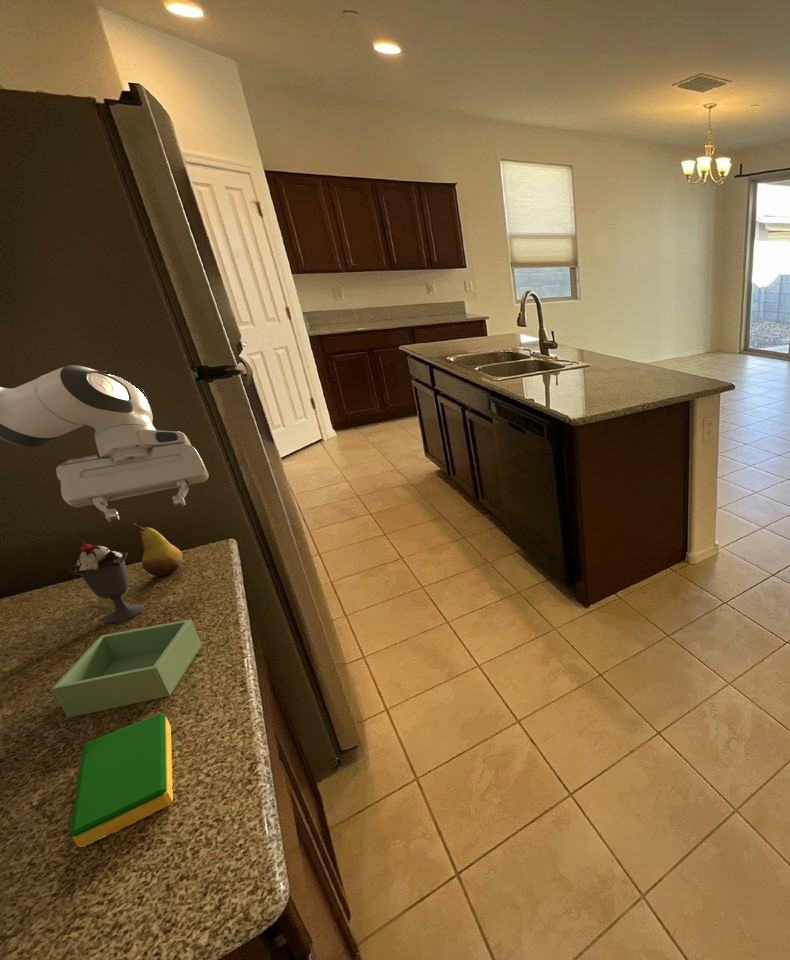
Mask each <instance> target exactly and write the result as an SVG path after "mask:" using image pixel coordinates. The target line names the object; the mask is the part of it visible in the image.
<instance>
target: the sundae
mask: <svg viewBox="0 0 790 960" xmlns="http://www.w3.org/2000/svg"><path fill="white" fill-rule="evenodd" d="M70 536H71V538H74V539H76V540H77V539H78V540H80V541H81V542H82V544H83V545H81V547H79V551H80V554H79V556H78V557H77V561H76V563H75V564H73V565H72V566H70V567H69V568H68V571H69V572H70V573H72V575H74V576H80V578H82V580H83V581H84V582H85V583H86V585H87V586H88V587H89V589H90V590H91V591H92V592H93V593H94V594H95V595H96V597H98V598H102V599H109V600H111V601H113V603H114V607H115V609H114V610H113V611H111V612H109V613H108V614H107V615H106V616H105V617H104V620H103V621H104V622H105V623H106V624H117V623H122V622H126V621H128V620H131V619H133V618H135V617H136V616H139V615H140V614H141V613H142V612H144V610H145V605H144V604H141V603H134V604H127V602H125V600H124V597H123V595H124V594H125V592H126V591H127V590H128V589H129V587H130V580H129V574H128V570H127V566H126V562H125V561H126V558H127V557H128V554H129V553H128V552H126V551H115V550H110V549H109V548H108V547H107V546H103V545H100V544H99V545H98V544H90V543H86V542H85V540H83V539H82V538H81V537H79V536H77V535H76V534H71V535H70Z"/></svg>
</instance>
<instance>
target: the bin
mask: <svg viewBox="0 0 790 960" xmlns="http://www.w3.org/2000/svg"><path fill="white" fill-rule="evenodd" d="M202 646H203V644H202V642H201V639H200V637H199V634H198V632H197V629H196V627H195V625H194V623H193V620H192V618H189V619H184V620H178V621H174V622H168V623H162V624H157V625H152V626H146V627H141V628H135V629H130V630H124V631H119V632H114V633H113V632H112V633H108V634H102V635H100V636H99V637H98V638H97V639H96V640H95V641H94V642H93V643H92V645H91V646H90V647H88V649H87V650H85V652H84V653H83V654H82V655H81V656H80V658H78V659H77V661H76V662H75V663H74V664H73V665H72V666H71V667H70V668H69V669H68V670H67V671H66V672H65V673H64V675H63V676H62V677H60V679H59V680H58V681H57V682H56V683H55V684H54V685H53V686H52V687H51V692H52V693H53V695H54V697H55V698H56V700H57V702H58V704H59V705H60V707H61V709H62V710H63V712H64V714H65V716H66V717H67V718H68V719H70V718H74V717H79V716H84V715H88V714H93V713H96V712H102V711H105V710H110V709H115V708H120V707H126V706H130V705H133V704H139V703H143V702H147V701H152V700H157V699H162V698H166V697H170V696H171V695H172V693H173V692H174V691H175V689H176V687H177V685H178V684H179V682H180V680H181V679H182V677H183V676H184V674H185V672H186V671H187V670H188V668H189V666H190V665H191V663H192V662H193V661H194V659H195V657H196V656H197V654H198V653H199V650H200V649H201V647H202Z"/></svg>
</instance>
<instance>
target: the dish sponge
mask: <svg viewBox="0 0 790 960" xmlns="http://www.w3.org/2000/svg"><path fill="white" fill-rule="evenodd" d="M172 754H173V753H172V726H171V723H170V722H169V719H168V717H167V716H166V713H165V712H159V713H157V714H155V715H152V716H150V717H148V718H145V719H142V720H140V721H138V722H135V723H132V724H130V725H127V726H125V727H123V728H120V729H118V730H115V731H113V732H110V733H108V734H105V735H103V736H101V737H98V738H95V739H93V740H91V741H88V742H86V743H85V744H84V745H83V746H82V753H81V759H80V765H79V772H78V777H77V785H76V791H75V797H74V802H73V810H72V815H71V816H72V817H71V823H70V828H69V835H70V837H72V840H73V841H74V843H75V844H76V845H77V847H78V846H79V847H82V846H83V847H84V846H86V845H88V844H89V843H92V842H93V841H95V840H97V839H99V838H101V837H103V836H105V835H108V834H111V833H113V832H114V831H117V830H119V829H121V828H123V827H126V826H128V827H130V826H129V825H131V824H132V823H135V822H136V821H138V820H140V819H141V818H144V817H146V816H148V815H150V814H153V813H154V812H156V811H158V810H159V809H162V808H164V807H167V806H169V805H170V804H171V803H172V802H173V803H174V794H173V793H174V792H173V791H174V790H173V789H172V786H173V757H172V756H173V755H172ZM173 803H172V804H173ZM172 804H171V805H172ZM171 805H170V806H171ZM170 806H169V807H170ZM167 808H168V807H167ZM153 815H154V814H153ZM135 824H136V823H135ZM131 826H132V825H131ZM126 828H127V827H126ZM79 847H78V848H79Z"/></svg>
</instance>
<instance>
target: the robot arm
mask: <svg viewBox="0 0 790 960" xmlns="http://www.w3.org/2000/svg"><path fill="white" fill-rule="evenodd" d="M102 372H103V371H99V370H96V369H94V368H90V367H86V366H84V365H83V366H82V365H77V364H70V365H66V366H63V367H59V368H57V369H55V370H52V371H49V372H48V373H45V374H43V375H40V376H38V377H37V378H35V379H33V380H30V381H28V382H26V383H24V384H20V385H18V386H17V387H14V388H11V387H10V388H8V387H2V386H0V440H2V441H3V442H6V443H9V444H13V445H17V446H22V447H29V448H41V447H44V446H47V445H49V444H51V443H52V442H54V441H55V440H57V439H59V438H61V437H63V436H65V435H66V434H68V433H71V432H72V431H75V430H77V429H80V428H81V427H84V426H88V427H90V428H91V427H92V428H93V429H94V430H95V432H94V441H95V445H96V449H97V452H98V454H94V455H88V456H84V457H78V458H70V459H66V460H65V461H64V462H62V463H60V464H59V465H58V466H56V468H55V473H56V477H57V480H58V481H60V493H61V497H62V499H63V501H64V502H65V503H66V504H67V505H69V506H71V507H74V508H83V507H87V506H93V505H94V506H95V507H96V508H97V509H98V510H99V511H100V512H102V513H103V514H104V516H105V517H104V518H105V519H106V521H107V522H108V523H111V522H116V521H120V519H121V518H120V514H119V511H118V510H117V509H116V508H107V507H108V502H112V501H116V500H122V499H126V498H132V497H137V496H142V495H146V494H147V495H148V494H152V493H156V492H161V491H166V490H172V489H175V488H177V489H178V492H177V494H176V495H172V496H171V499H172V500H173V501H172V502H173V504H174V506H175V508H179V507H184V506H187V505H186V500H185V498H186V496H187V495H188V492H189V490H190V488H189V486H192V485H195V484H201V483H205V482H207V481H208V479H209V477H210V475H209V472H208V470H207V468H206V466H205V464H204V462H203V459H202V458H201V455H200V454H199V452H198V450H197V449H196V448H195V447H194V446H193V445H192V444H191V441H190V439H189V438H188V437H187V435H186V434H185V433H184V432H182V431H170V430H157V429H156V427H155V426H154V423H153V420H154V415H153V412H152V408H151V405H150V403H148V402H149V400H148V398H147V396H146V397H145V396H144V394H143V393H142V392H141V391H140V390H139V389H138V388H136V387H135V386H134V385H132V384H131V383H130V382H128V381H126V380H124V379H123V378H121V377H118V376H115V375H111V374H105V373H102ZM146 398H147V399H146Z"/></svg>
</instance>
